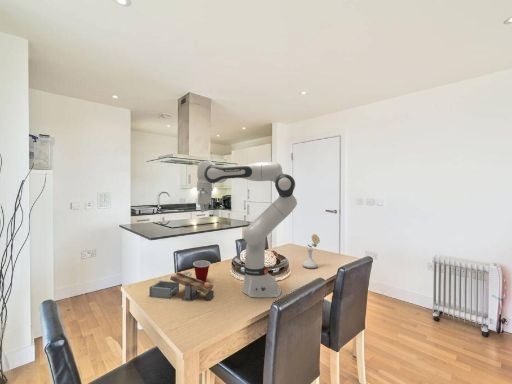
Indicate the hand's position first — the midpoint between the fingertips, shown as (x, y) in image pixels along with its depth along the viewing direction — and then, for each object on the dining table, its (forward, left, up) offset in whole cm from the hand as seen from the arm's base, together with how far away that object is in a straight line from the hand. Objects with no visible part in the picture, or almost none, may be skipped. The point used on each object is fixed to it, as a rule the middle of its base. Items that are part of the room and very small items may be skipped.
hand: (204, 211), depth 152 cm
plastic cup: (+4, -6, -45) cm, 46 cm away
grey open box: (+17, +15, -45) cm, 50 cm away
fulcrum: (+1, +15, -45) cm, 47 cm away
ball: (-8, +15, -38) cm, 42 cm away
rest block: (-9, +15, -45) cm, 48 cm away
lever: (+1, +11, -38) cm, 40 cm away
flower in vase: (-64, -52, -45) cm, 94 cm away
